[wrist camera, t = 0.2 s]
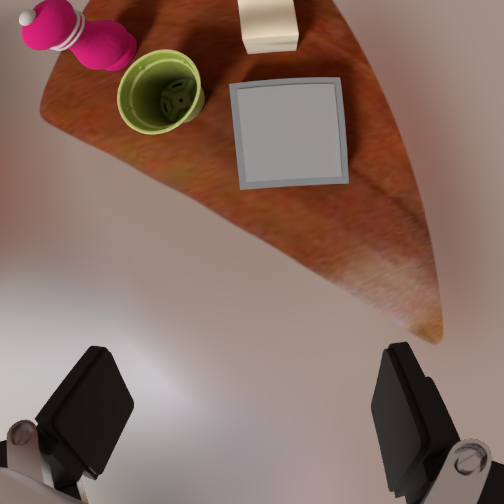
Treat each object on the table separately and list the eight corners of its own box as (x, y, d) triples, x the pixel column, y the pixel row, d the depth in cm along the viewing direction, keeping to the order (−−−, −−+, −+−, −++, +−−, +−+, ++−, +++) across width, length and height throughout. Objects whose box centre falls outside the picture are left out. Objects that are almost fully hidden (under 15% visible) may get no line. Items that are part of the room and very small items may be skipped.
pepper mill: (90, 69, 32) (-10, 48, 14) (111, 27, 30) (21, -15, 11) (126, 79, 33) (24, 53, 14) (149, 34, 30) (62, -19, 12)
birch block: (243, 16, 29) (237, -3, 24) (290, 12, 28) (291, -8, 23) (248, 54, 31) (242, 39, 26) (295, 50, 30) (298, 35, 25)
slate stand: (235, 91, 33) (228, 83, 28) (332, 85, 32) (340, 76, 27) (245, 183, 37) (240, 190, 32) (339, 178, 36) (349, 183, 31)
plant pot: (141, 85, 33) (108, 74, 25) (205, 56, 32) (185, 35, 23) (161, 145, 36) (131, 148, 28) (227, 119, 34) (212, 112, 26)
